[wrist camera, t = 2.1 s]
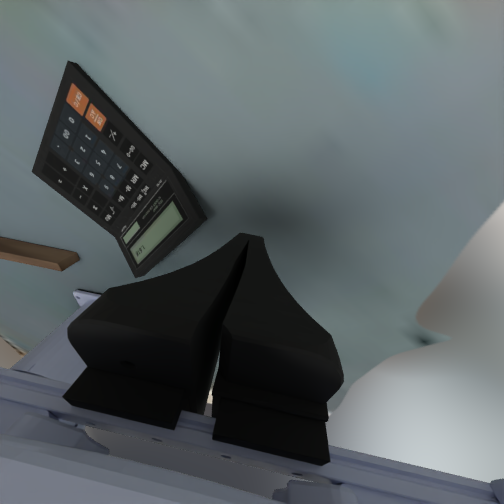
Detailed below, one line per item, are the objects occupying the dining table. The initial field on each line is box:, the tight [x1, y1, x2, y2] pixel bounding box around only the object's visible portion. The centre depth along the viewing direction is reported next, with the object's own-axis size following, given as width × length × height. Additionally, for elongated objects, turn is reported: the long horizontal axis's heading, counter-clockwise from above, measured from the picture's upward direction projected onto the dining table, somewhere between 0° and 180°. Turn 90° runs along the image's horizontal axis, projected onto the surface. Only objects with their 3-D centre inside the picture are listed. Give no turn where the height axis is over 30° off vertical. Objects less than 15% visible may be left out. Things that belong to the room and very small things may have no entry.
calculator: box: [32, 61, 207, 278], centre depth 14 cm, size 9×12×3 cm
